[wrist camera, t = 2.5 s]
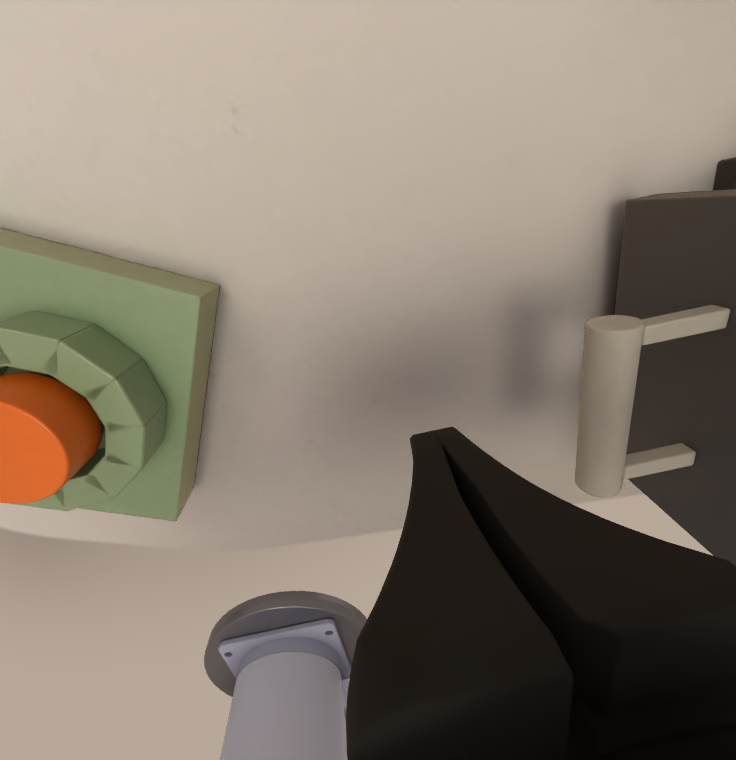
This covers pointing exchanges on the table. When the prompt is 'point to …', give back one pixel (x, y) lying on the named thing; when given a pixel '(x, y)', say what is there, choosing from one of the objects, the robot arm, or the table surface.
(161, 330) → the button housing
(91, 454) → the button
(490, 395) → the table surface
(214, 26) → the table surface
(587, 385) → the drawer
